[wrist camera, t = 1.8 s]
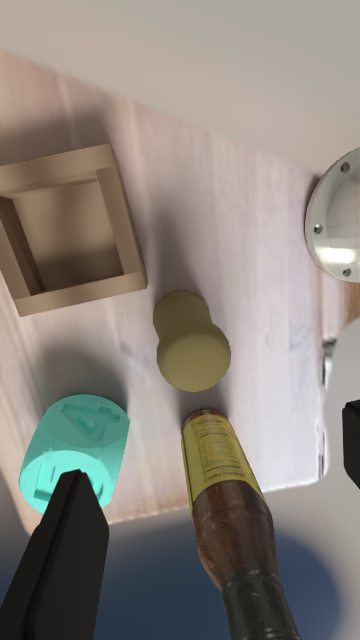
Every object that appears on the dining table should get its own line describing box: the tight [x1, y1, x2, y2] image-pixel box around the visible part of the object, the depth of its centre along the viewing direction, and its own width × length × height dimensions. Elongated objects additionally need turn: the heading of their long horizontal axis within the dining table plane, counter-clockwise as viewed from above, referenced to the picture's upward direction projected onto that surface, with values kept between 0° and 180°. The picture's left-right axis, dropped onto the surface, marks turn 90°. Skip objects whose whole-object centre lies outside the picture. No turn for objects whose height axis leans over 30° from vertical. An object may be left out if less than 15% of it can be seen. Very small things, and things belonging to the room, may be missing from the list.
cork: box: [153, 291, 231, 392], centre depth 22 cm, size 6×6×11 cm
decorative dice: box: [19, 394, 130, 514], centre depth 26 cm, size 8×8×8 cm
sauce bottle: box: [181, 409, 302, 640], centre depth 21 cm, size 7×6×20 cm
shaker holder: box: [0, 143, 148, 317], centre depth 22 cm, size 11×11×4 cm
